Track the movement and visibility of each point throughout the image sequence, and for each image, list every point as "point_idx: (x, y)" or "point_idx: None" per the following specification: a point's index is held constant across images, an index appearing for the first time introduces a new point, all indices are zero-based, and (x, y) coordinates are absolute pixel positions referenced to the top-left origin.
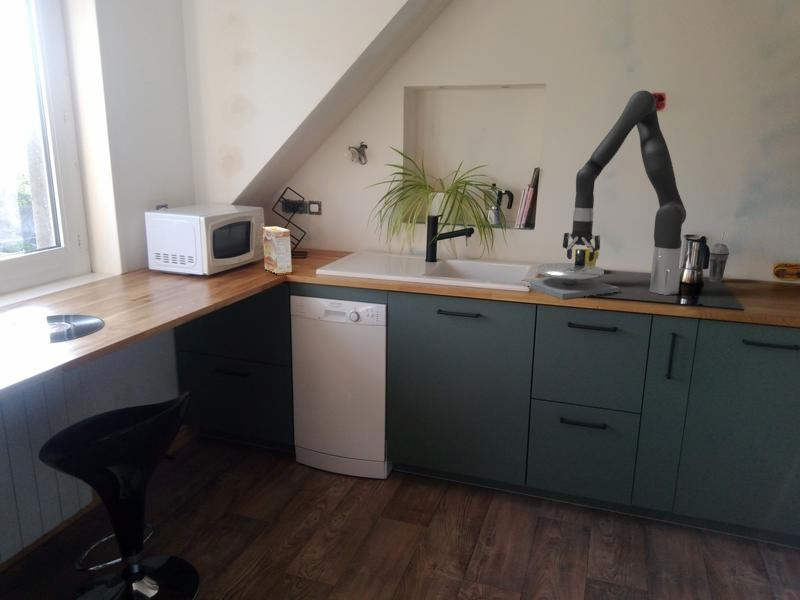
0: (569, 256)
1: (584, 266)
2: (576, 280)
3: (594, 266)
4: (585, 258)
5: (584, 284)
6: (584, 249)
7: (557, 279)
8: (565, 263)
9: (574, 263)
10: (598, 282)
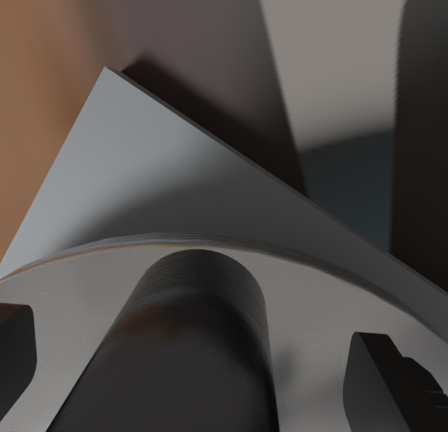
0: (7, 406)
1: (284, 388)
2: None
3: (400, 329)
4: (271, 359)
5: None
6: (212, 422)
7: None
8: None
9: (107, 261)
10: (401, 297)
